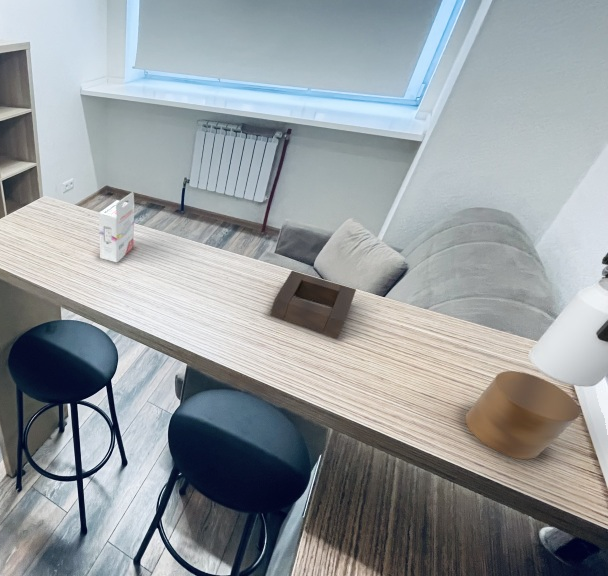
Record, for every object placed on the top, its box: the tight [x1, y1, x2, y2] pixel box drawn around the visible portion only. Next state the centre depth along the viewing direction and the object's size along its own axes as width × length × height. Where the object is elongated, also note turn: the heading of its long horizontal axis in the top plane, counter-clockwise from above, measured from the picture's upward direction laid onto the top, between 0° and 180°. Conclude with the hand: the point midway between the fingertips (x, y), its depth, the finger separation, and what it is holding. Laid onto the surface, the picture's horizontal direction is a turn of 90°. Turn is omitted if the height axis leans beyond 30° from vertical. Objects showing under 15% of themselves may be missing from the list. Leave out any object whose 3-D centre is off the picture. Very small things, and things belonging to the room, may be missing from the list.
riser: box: [464, 370, 581, 460], centre depth 54 cm, size 8×8×8 cm
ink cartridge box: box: [98, 191, 135, 263], centre depth 94 cm, size 9×5×15 cm, turn 149°
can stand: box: [269, 270, 357, 339], centre depth 78 cm, size 12×12×4 cm
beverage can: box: [528, 278, 608, 388], centre depth 46 cm, size 6×6×12 cm
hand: (601, 323), depth 45 cm, fingers closed on beverage can, 6 cm apart
